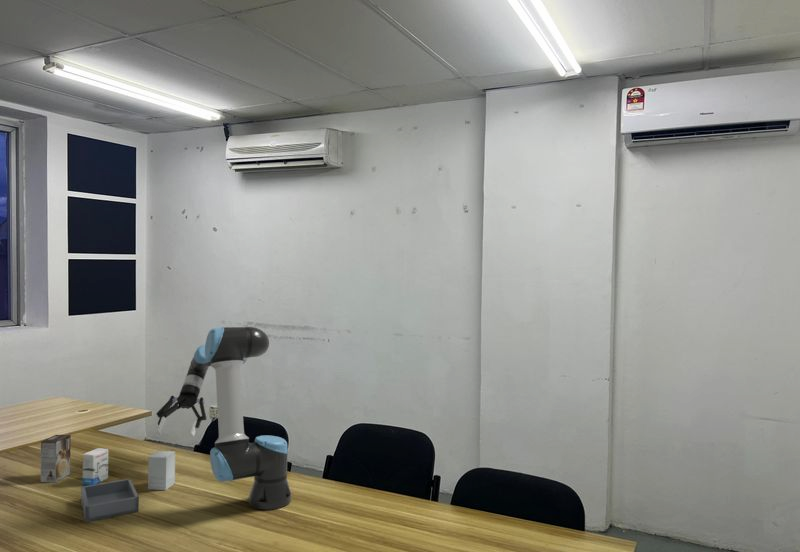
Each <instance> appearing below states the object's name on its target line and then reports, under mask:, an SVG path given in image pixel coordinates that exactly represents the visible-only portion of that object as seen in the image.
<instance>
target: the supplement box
mask: <svg viewBox="0 0 800 552" xmlns="http://www.w3.org/2000/svg"><path fill="white" fill-rule="evenodd" d="M147 461H148V466H147V467H148V469H147V470H148V471H147V473H148V474H147V475H148V477H147V490H157V491H167V490H168V489H170V488H171V487H172V486H173V485H174V484H176V483H175V482H176V451H169V450H167V451H166V450H157V451H156V452H154V453H152V454H151V455H149V456H148V460H147Z"/></svg>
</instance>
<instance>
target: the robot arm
mask: <svg viewBox="0 0 800 552" xmlns="http://www.w3.org/2000/svg"><path fill="white" fill-rule="evenodd" d="M269 346H270V340H269V337H268V335H267V333H265V331H263V330H261V329H260V328H257V327H254V326H238V327H236V326H235V327H232V326H231V327H229V326H228V327H225V326H222V327H217V328H216V327H215V328H212V329H211V330H209V331H208V333H207V335H206V339H205V343H204V344H202V345H199V346H198V347H197V348H196V350H195V352H194V354H193V357H192V359H191V362H190V364H189V367H188V371H187V373H186V376H185V379H184V381H183V384H182V387H181V389H180V392H179V395H178V396H177V397H176V396H174V395H171V396H170V398H169V399H168V401H167V402H165V404H164V405H163V406H162V407H161V408H160V409H159V410H158V411H157V412H156V414H155V415H156V416H157V417H158V422H157V425H158V427H157V429H156V432H157V434H158V435H159V436H160V435H162V432H163V430H164V427H165V424H166V421H167V419H166V418H167V417H169V416H171V415H172V414H173V413H174V412H176V411H177V410H180V409H189V410H190V409H191V410H192V411H193V413H194V415H195V416H196V418H195V419H194V421H193V423H192V427H191V430H190V435H191V436H192V437H195V434H196V431H197V429H200V426H201V422H202V421H207V415H206V414H207V413H206V409H205V406H204V404H205V400H204V398H203V397H200V398H199V395H200V393H201V392H200V391H201V389H202V386H203V383H204V380H205V377H206V375H207V374H206V373H207V372H208V370H209V368H210V367H212V368H213V369H214V371H215V386H216V403H217V404H216V407H217V422H218V423H217V424H218V438H217V439H216V440H215V442H214V447H212V448H211V450H210V451H209V452H210V453H209V454H210V455H209V461H210V467H211V470H212V473H213V476H214V478H215V479H216V480H217V482H233V481H236V480H241V479H247V478H254V479H253V484H252V487H251V490H250V491H249V492H250V493H249V495H248V505H249V506H250V507H251V508H254V509H258V510H265V511H267V510H276V509H280V508H283V507H286V506H287V505H289V504H290V503H291V501H292V492H291V489H290V484H289V482H288V454H289V451H288V442H287V441H286V439H285V438H284V437H283V438H282V437H280V436H275V435H266V434H265V435H258V436H256V437H255V439H254V441H253V442H250V437H249V436H247V435H246V433H245V429H244V428H245V426H244V413H243V398H242V395H243V394H242V384H241V383H242V381H241V366H242V365H244V364H246V362H247V359H249V358H257V357H260V356H262V355H264V354H265V353H266V352H267V351H268V349H269V348H270V347H269ZM197 403H198V404H199V408H200V413H201V415H200V413H199V412H198V410H197V408H196V407H195V405H196V404H197Z"/></svg>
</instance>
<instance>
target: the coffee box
mask: <svg viewBox="0 0 800 552" xmlns="http://www.w3.org/2000/svg"><path fill="white" fill-rule="evenodd" d="M71 437H72V435H71V434H54V435H52V436H50V437H47V438H45V439H43V440H41V441H40V482H41V483H58V482H59V481H61V480H62V479H64V478H66V477H68V476H69V475H71Z"/></svg>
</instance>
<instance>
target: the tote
mask: <svg viewBox="0 0 800 552" xmlns="http://www.w3.org/2000/svg"><path fill="white" fill-rule="evenodd" d="M139 501H140V498H139V495H138V493H137V491H136V487H135V485H134V484H133V482H132V479H131V478H126V479H119V480H113V481H108V482H100V483H97V484H95V485H85V486H84V485H83V486H81V488H80V503H81V508H82V512H83V518H84V522H85V523H89V522H93V521H97V520H98V521H99V520H103V519H109V518H113V517H118V516H119V517H120V516H124V515H128V514H133V513H138V512H139V509H140V508H139V506H140V505H139V503H140V502H139Z"/></svg>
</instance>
